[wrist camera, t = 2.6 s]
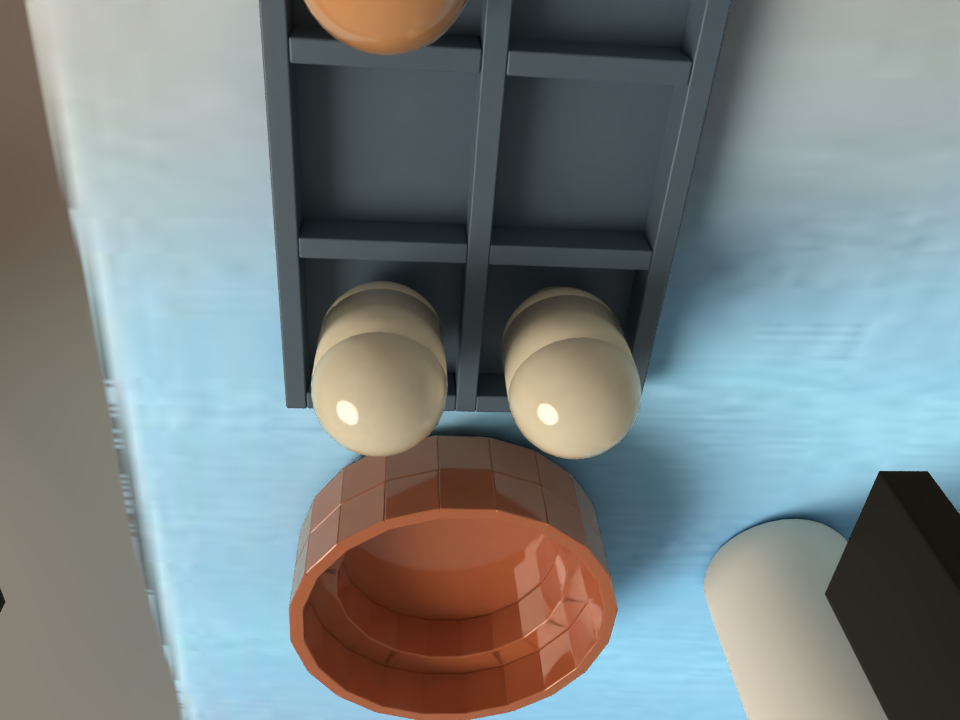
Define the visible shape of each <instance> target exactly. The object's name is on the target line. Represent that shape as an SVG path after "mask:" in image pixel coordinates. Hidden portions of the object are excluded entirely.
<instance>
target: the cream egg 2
mask: <svg viewBox="0 0 960 720" xmlns="http://www.w3.org/2000/svg"><path fill="white" fill-rule="evenodd" d="M501 355H502V363H503V369H504V376H505V382H506V389H507V395H508V402H509V406H510V410H511V413H512V416H513V419H514V421H515V423H516V425H517V426H518V428H519V430H520V431H521V433H522V434H523V435H524V436H525V437H526V438H527V440H528V441H529V442H530V443H532V444H533V445H535V446H536V447H538V448H539V449H540V450H542V451H543V452H545V453H548V454H550V455H552V456H556V457H560V458H565V459H587V458H591V457H595V456H598V455H600V454H603V453H605V452H606V451H608V450H610V449H612V448H613V447H614V446H616V445H617V444H618V443H619V442H621V441H622V440H623V439H624V438H625V436H626V435H627V434H628V433H629V431H630V430H631V428H632V426H633V424H634V423H635V421H636V419H637V416H638V413H639V410H640V404H641V393H642V390H641V384H640V378H639V373H638V370H637V367H636V365H635V362H634V360H633V357H632V354H631V352H630V349H629V346H628V344H627V341H626V338H625V336H624V333H623V330H622V328H621V325H620V323H619V321H618V319H617V318H616V316H615V314H614V313H613V311H612V310H611V309H610V308H609V306H608V305H607V304H605V303H604V302H603V301H602V300H601V299H599V298H598V297H597V296H595V295H594V294H592V293H590V292H588V291H585V290H582V289H579V288H574V287H564V286H561V287H560V286H553V287H547V288H544V289H541V290H539V291H537V292H536V293H534V294H532V295H531V296H529V297H528V298H526V299H525V300H524V301H523V302H522V303H520V304H519V305H518V306H517V307H516V308H515V310H514V311H513V312H512V314H511V315H510V317H509V319H508V321H507V324H506V326H505V328H504V331H503V335H502V340H501Z"/></svg>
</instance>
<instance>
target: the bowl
mask: <svg viewBox="0 0 960 720" xmlns="http://www.w3.org/2000/svg"><path fill="white" fill-rule="evenodd" d="M617 611H618V610H617V604H616V599H615V594H614V589H613V584H612V579H611V575H610V571H609V567H608V562H607V558H606V554H605V550H604V546H603V542H602V538H601V534H600V530H599V526H598V522H597V518H596V514H595V510H594V506H593V503H592V501H591V500H590V499H589V497H588V496H587V495H586V493H585V492H584V491H583V489H582V488H581V486H580V485H579V484H578V482H577V481H576V480H575V478H574V477H573V476H572V474H570V473H569V472H567V471H566V470H564V469H563V468H561V467H560V466H558V465H557V464H555V463H554V462H552V461H551V460H549V459H547V458H546V457H544V456H543V455H541V454H540V453H538V452H537V451H534V450H532V449H529V448H525V447H522V446H518V445H515V444H511V443H508V442H504V441H501V440H498V439H494V438H491V437H489V438H488V437H476V436H441V435H439V436H437V435H435V436H430V437H427V438H425V439H424V440H423V441H422V442H421V443H420V444H419V445H417V446H415V447H414V448H412V449H410V450H408V451H405V452H403V453H400V454H396V455H392V456H385V457H372V456H366V457H364V458H362V459H360V460H358V461H356V462H354V463H352V464H350V465H349V466H347V467H345V468H344V469H343V470H342V471H341V472H340V473H339V474H338V475H337V476H335V477H334V478H333V479H332V480H331V481H330V482H329V483H328V484H327V485H326V486H325V487H324V488H323V489H322V490H321V491H320V492H319V493H318V494H317V495H316V496H315V499H314V500H313V502H312V505H311V507H310V509H309V512H308V514H307V516H306V519H305V521H304V523H303V526H302V528H301V530H300V536H299V543H298V550H297V557H296V563H295V569H294V576H293V583H292V590H291V597H290V604H289V621H290V641H291V643H292V645H293V646H294V648H295V650H296V652H297V653H298V655H299V657H300V659H301V660H302V662H303V664H304V666H305V667H306V669H307V671H309V673H310V674H311V675H312V676H314V677H315V678H316V679H317V680H319V681H320V682H321V683H322V684H324V685H325V686H326V687H327V688H329V689H330V690H331V691H332V692H333V693H335V694H336V695H338V696H339V697H341V698H344V699H346V700H348V701H351V702H353V703H355V704H358V705H360V706H362V707H365V708H367V709H369V710H372V711H374V712H377V713H382V714H387V715H393V716H398V717H404V718H409V719H414V720H471V719H476V718H481V717H486V716H492V715H497V714H502V713H507V712H511V711H515V710H517V709H520V708H522V707H524V706H527V705H529V704H532V703H534V702H537V701H539V700H542V699H544V698H547V697H549V696H551V695H553V694H555V693H556V692H558V691H559V690H561V689H562V688H563V687H565V686H566V685H568V684H569V683H570V682H572V681H573V680H575V679H576V678H578V677H579V676H580V675H582V674H583V673H585V671H587V669H588V668H589V667H590V666H591V664H592V663H593V662H594V661H595V659H596V658H597V657H598V655H599V654H600V653H601V652H602V650H603V649H604V648H605V646H606V645H607V644H608V642H609V639H610V636H611V632H612V629H613V625H614V621H615V618H616V614H617Z"/></svg>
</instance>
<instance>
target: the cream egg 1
mask: <svg viewBox="0 0 960 720" xmlns="http://www.w3.org/2000/svg"><path fill="white" fill-rule="evenodd" d="M447 390H448V383H447V366H446V350H445V337H444V331H443V327H442V324H441V321H440V318H439V316H438V314H437V313H436V311H435V309H434V308H433V306H432V305H431V304H430V303H429V301H428V300H427V299H426V298H425V297H424V296H423V295H421V294H420V293H419V292H417V291H416V290H414V289H412V288H410V287H408V286H406V285H403V284H400V283H396V282H393V281H383V280H382V281H371V282H367V283H363V284H359V285H357V286H355V287H353V288H350V289H349V290H347V291H346V292H344V293H343V294H342V295H340V297H339V298H338V299H337V300H336V301H335V302H334V303H333V304H332V305H331V306H330V308H329V309H328V311H327V313H326V314H325V316H324V319H323V322H322V324H321V327H320V331H319V337H318V343H317V349H316V355H315V361H314V367H313V373H312V380H311V398H312V403H313V408H314V411H315V413H316V416H317V418H318V420H319V422H320V424H321V426H322V427H323V428H324V430H325V431H326V432H327V433H328V434H329V436H330V437H331V438H332V439H333V440H335V441H336V442H337V443H338V444H339V445H341V446H343V447H344V448H346V449H348V450H350V451H353V452H355V453H358V454H361V455H366V456H372V457H385V456H392V455H396V454H400V453H403V452H405V451H408V450H410V449H412V448H414V447H415V446H417V445H419V444H420V443H421V442H422V441H423V440H424V439H425V438H427V437H428V436H429V435H430V434H431V433H432V431H433V430H434V429H435V427H436V426H437V424H438V423H439V420H440V418H441V416H442V414H443V411H444V409H445V405H446V399H447Z"/></svg>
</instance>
